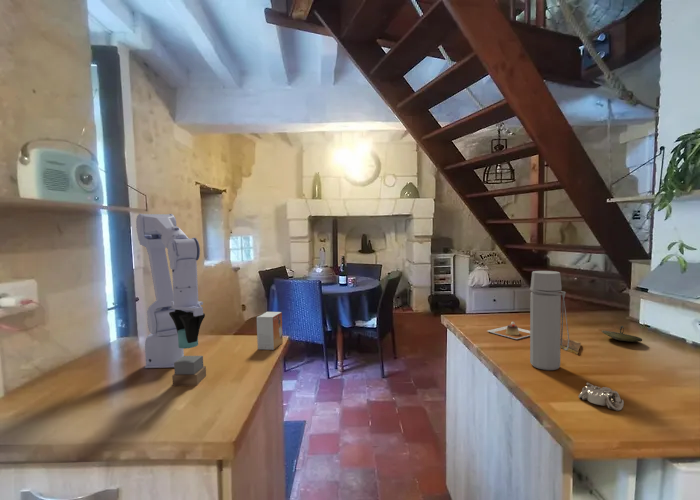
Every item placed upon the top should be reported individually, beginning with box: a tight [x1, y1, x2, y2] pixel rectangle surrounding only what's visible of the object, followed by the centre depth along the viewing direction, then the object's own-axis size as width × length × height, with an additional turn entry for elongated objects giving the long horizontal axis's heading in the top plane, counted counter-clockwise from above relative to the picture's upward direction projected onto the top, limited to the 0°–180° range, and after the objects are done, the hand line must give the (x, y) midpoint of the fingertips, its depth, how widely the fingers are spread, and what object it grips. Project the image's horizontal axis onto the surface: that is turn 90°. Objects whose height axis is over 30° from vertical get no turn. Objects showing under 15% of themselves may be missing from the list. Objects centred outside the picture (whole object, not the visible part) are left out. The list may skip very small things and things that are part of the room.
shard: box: [560, 338, 582, 355], centre depth 115 cm, size 11×8×2 cm
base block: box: [171, 365, 207, 387], centre depth 97 cm, size 6×6×3 cm
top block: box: [173, 355, 204, 375], centre depth 97 cm, size 5×5×3 cm
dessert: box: [487, 321, 530, 341], centre depth 132 cm, size 12×12×5 cm
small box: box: [256, 311, 284, 351], centre depth 124 cm, size 8×6×10 cm
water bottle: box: [529, 270, 570, 371], centre depth 100 cm, size 9×8×25 cm
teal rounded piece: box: [178, 328, 199, 350], centre depth 96 cm, size 5×5×4 cm
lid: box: [601, 325, 643, 343], centre depth 120 cm, size 11×10×5 cm
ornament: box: [577, 382, 625, 412], centre depth 80 cm, size 8×7×4 cm
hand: (188, 340), depth 96 cm, fingers closed on teal rounded piece, 5 cm apart
